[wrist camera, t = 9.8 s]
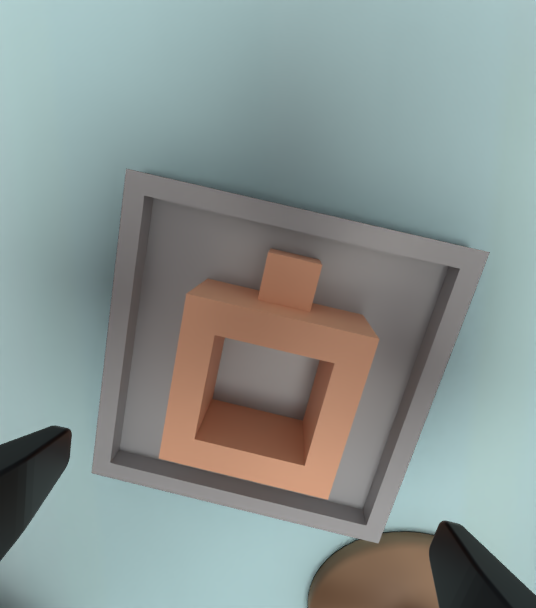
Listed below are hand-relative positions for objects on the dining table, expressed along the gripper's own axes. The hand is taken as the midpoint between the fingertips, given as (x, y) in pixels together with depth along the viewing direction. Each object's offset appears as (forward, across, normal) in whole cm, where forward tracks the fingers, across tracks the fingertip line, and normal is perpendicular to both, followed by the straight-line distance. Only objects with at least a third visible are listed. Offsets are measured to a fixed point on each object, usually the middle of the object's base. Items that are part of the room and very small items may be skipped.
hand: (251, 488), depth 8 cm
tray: (+8, 0, 0) cm, 8 cm away
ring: (+7, 0, 0) cm, 7 cm away
